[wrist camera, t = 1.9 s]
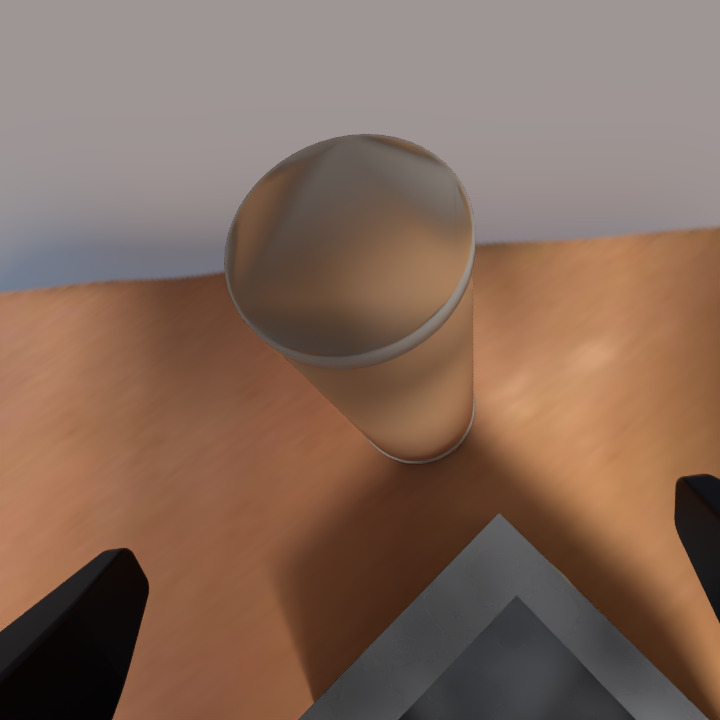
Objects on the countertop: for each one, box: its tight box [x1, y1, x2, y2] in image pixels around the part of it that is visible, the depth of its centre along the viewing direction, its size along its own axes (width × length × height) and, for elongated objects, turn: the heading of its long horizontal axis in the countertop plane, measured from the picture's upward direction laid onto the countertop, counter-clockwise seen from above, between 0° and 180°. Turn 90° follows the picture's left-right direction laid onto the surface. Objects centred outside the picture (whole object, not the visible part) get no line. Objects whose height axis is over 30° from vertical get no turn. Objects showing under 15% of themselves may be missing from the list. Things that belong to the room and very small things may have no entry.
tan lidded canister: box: [224, 134, 475, 464], centre depth 15 cm, size 5×5×12 cm
